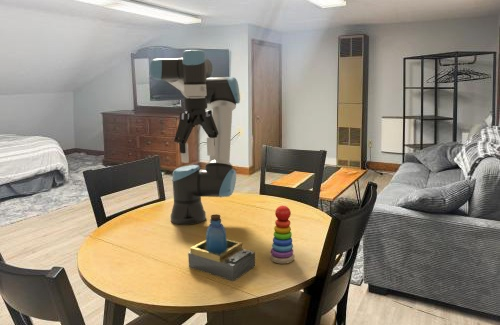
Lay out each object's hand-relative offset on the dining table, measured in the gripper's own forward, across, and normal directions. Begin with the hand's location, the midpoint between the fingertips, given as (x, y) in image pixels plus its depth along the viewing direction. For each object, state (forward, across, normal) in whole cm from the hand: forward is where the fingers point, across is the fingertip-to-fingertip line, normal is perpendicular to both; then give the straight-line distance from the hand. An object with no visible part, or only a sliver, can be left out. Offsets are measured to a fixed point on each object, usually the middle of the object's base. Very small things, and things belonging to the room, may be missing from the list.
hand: (198, 159), depth 146 cm
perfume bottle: (+28, -9, -14) cm, 32 cm away
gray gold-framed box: (+33, -9, -16) cm, 38 cm away
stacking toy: (+33, +6, -30) cm, 45 cm away
